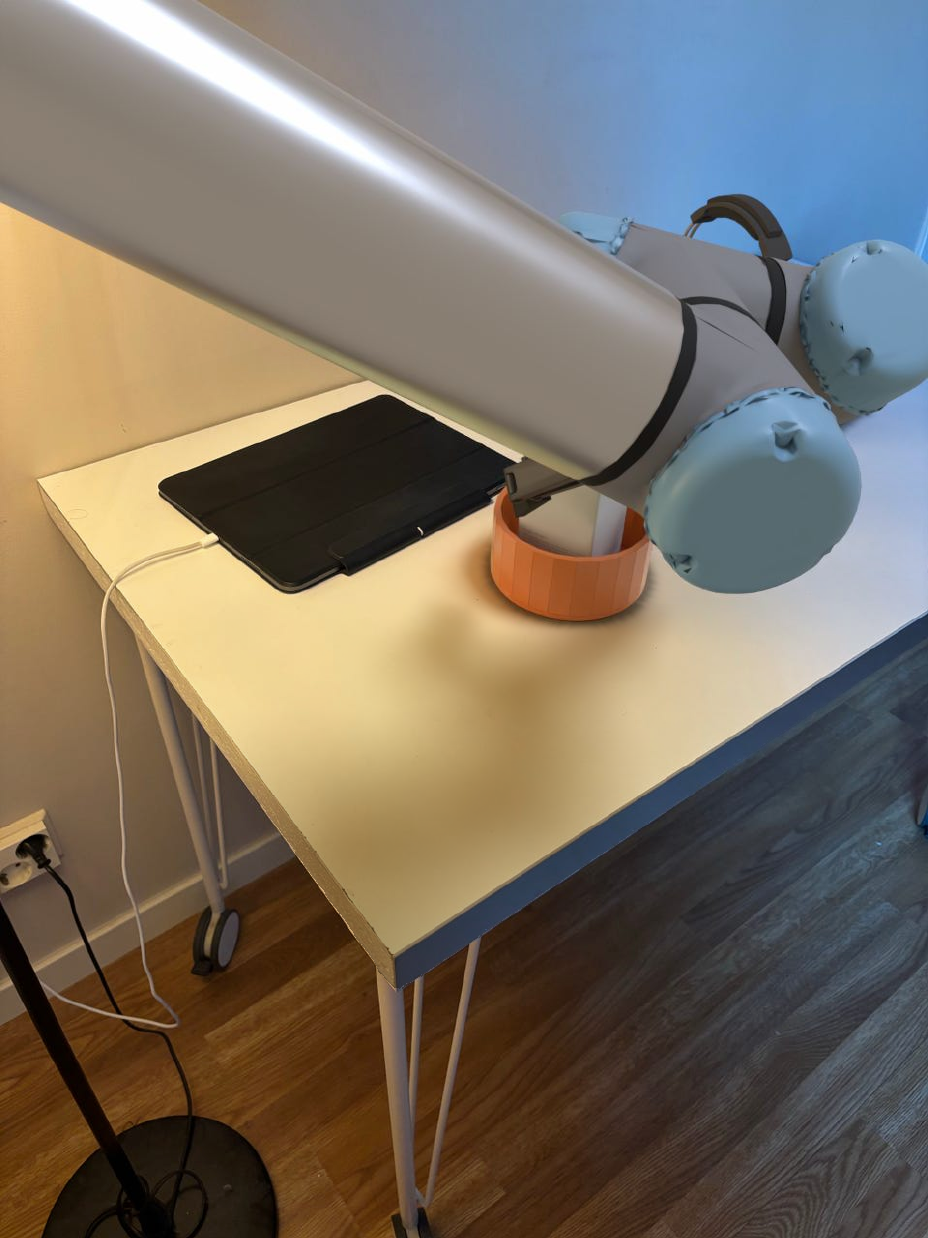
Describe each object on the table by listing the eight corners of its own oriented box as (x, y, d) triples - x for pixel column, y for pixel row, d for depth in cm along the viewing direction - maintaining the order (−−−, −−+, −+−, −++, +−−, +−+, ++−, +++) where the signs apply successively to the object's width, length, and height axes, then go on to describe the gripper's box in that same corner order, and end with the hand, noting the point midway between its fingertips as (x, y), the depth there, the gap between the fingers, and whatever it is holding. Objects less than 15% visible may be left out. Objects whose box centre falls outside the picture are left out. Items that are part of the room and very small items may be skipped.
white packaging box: (620, 561, 88) (641, 441, 80) (584, 603, 84) (602, 480, 75) (550, 534, 91) (564, 415, 83) (511, 573, 86) (521, 451, 78)
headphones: (787, 395, 116) (834, 226, 102) (745, 404, 113) (788, 233, 100) (682, 323, 131) (712, 168, 118) (643, 330, 128) (669, 173, 115)
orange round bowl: (498, 622, 82) (502, 562, 78) (484, 526, 93) (488, 469, 88) (660, 619, 83) (673, 560, 79) (628, 525, 94) (638, 468, 89)
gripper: (550, 501, 55) (459, 558, 75) (905, 441, 62) (733, 508, 82) (523, 375, 55) (440, 466, 76) (879, 329, 62) (714, 424, 82)
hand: (592, 488), depth 79 cm, fingers open, 13 cm apart
